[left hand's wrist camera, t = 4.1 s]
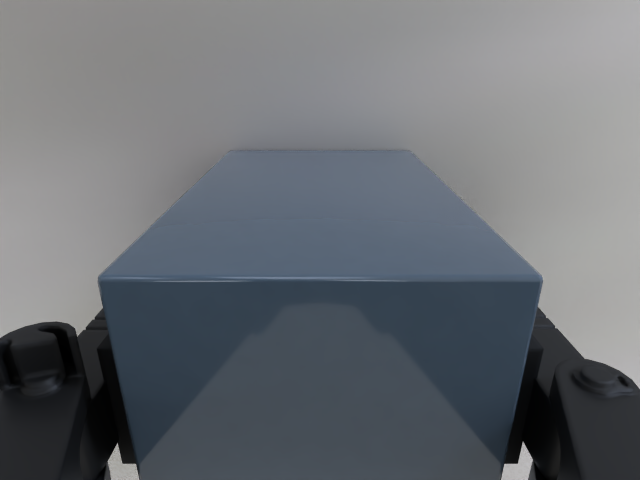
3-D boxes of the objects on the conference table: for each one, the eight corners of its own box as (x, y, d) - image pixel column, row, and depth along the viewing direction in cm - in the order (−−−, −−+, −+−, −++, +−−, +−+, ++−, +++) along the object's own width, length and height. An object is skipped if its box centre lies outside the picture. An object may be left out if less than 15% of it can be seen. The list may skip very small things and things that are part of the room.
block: (228, 150, 15) (94, 276, 6) (411, 149, 15) (546, 276, 6) (241, 311, 17) (157, 574, 8) (398, 311, 17) (482, 574, 8)
